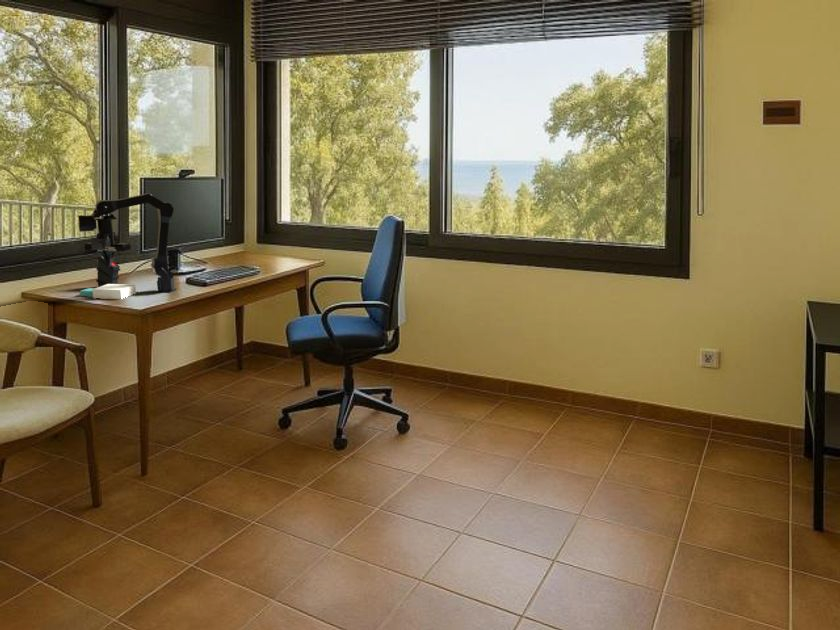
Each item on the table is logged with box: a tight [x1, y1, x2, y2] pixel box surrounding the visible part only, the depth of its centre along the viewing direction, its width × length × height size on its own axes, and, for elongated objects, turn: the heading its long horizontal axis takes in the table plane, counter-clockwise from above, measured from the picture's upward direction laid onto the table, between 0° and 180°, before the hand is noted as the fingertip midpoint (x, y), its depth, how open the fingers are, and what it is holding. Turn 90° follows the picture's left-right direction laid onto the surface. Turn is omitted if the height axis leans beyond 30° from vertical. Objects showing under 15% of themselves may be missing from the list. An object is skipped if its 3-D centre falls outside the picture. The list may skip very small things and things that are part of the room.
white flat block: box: [92, 283, 137, 300], centre depth 323 cm, size 13×12×4 cm
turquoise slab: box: [79, 287, 95, 296], centre depth 325 cm, size 8×6×2 cm
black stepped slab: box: [96, 254, 121, 288], centre depth 339 cm, size 4×13×15 cm, turn 58°
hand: (109, 266), depth 320 cm, fingers closed
